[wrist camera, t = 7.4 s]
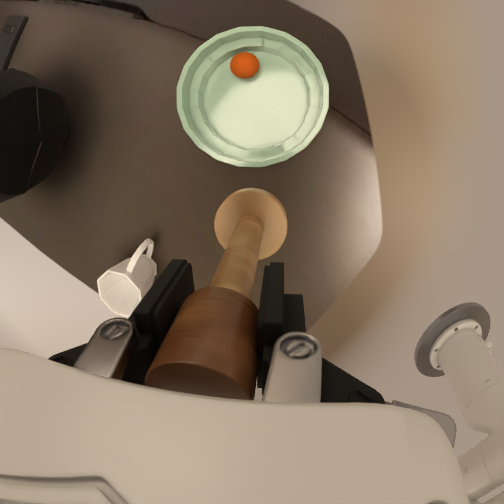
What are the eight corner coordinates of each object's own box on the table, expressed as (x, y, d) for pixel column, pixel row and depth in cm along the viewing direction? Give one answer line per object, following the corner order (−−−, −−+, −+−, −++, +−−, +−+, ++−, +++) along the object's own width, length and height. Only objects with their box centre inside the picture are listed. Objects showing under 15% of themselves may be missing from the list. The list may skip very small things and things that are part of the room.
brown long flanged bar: (287, 188, 19) (301, 337, 6) (286, 254, 21) (285, 448, 8) (216, 187, 20) (87, 317, 6) (219, 253, 22) (139, 428, 8)
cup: (118, 272, 41) (92, 299, 34) (138, 218, 37) (108, 239, 30) (156, 295, 42) (134, 326, 35) (181, 243, 38) (158, 271, 31)
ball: (260, 55, 27) (258, 48, 24) (260, 80, 28) (258, 75, 25) (232, 56, 27) (227, 49, 24) (232, 81, 28) (227, 76, 26)
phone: (-19, 84, 27) (7, 15, 21) (-15, 83, 29) (12, 16, 23) (-6, 90, 28) (24, 16, 22) (-1, 90, 30) (29, 17, 24)
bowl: (320, 44, 26) (327, 29, 21) (319, 164, 32) (326, 170, 27) (193, 46, 27) (178, 33, 22) (193, 162, 34) (178, 168, 29)
